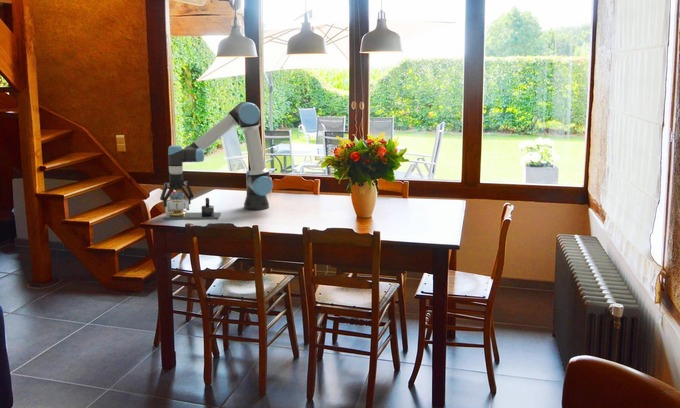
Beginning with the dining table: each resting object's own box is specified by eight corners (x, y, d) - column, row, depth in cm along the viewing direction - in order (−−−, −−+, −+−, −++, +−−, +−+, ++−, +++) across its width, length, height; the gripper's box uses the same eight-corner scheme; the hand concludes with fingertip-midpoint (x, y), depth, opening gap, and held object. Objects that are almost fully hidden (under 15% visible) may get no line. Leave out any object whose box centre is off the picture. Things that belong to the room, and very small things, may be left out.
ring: (183, 204, 390) (183, 198, 389) (190, 208, 380) (190, 202, 379) (164, 206, 383) (163, 200, 383) (171, 210, 374) (170, 204, 373)
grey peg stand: (220, 214, 391) (220, 196, 389) (218, 219, 378) (217, 200, 376) (168, 214, 389) (167, 196, 387) (163, 219, 376) (163, 200, 374)
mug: (178, 212, 395) (177, 194, 393) (165, 211, 399) (164, 193, 397) (191, 209, 406) (190, 191, 403) (178, 207, 410) (178, 190, 407)
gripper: (193, 170, 388) (195, 207, 392) (152, 173, 375) (154, 212, 379) (198, 172, 381) (199, 210, 386) (157, 175, 368) (159, 214, 373)
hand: (177, 211), depth 382 cm, fingers closed on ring, 11 cm apart
